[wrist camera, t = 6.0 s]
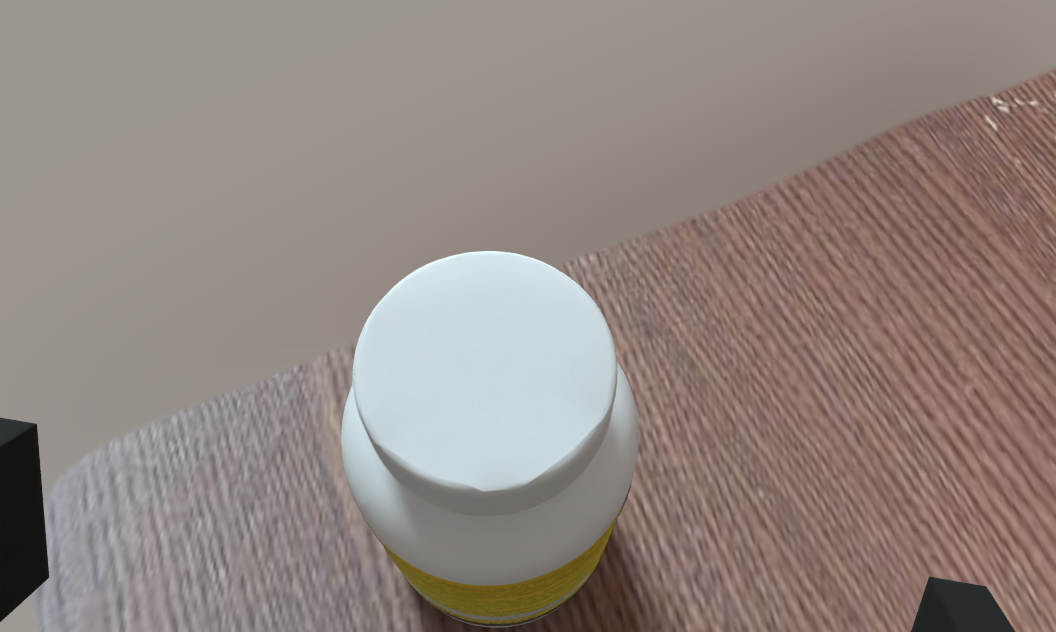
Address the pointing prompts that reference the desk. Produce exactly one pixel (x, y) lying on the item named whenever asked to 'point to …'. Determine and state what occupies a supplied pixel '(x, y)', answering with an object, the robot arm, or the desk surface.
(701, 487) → the desk surface
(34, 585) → the robot arm
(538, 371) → the supplement bottle
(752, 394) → the desk surface
